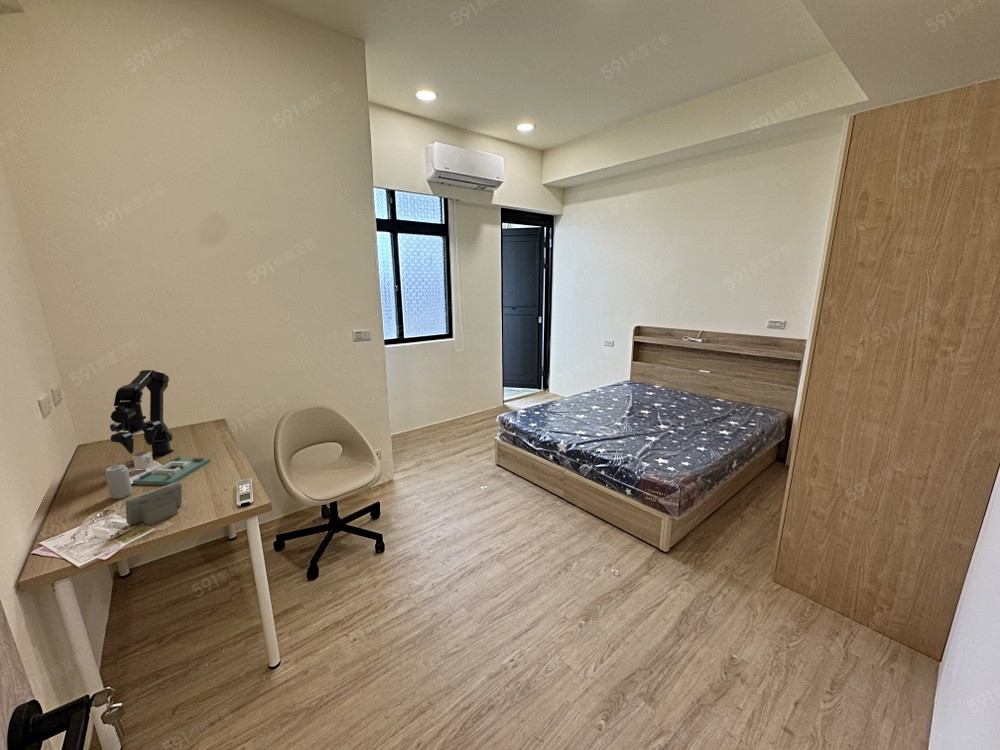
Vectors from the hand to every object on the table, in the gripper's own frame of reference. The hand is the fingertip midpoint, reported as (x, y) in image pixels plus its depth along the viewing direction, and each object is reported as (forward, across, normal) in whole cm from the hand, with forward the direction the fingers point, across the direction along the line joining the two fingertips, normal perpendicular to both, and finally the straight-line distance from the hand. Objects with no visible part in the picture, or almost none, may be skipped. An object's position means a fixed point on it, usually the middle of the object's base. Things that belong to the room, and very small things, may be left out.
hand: (141, 449), depth 178 cm
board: (+9, +3, +16) cm, 19 cm away
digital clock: (+9, +36, +38) cm, 53 cm away
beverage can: (+9, +23, +12) cm, 28 cm away
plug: (+9, 0, 0) cm, 9 cm away
